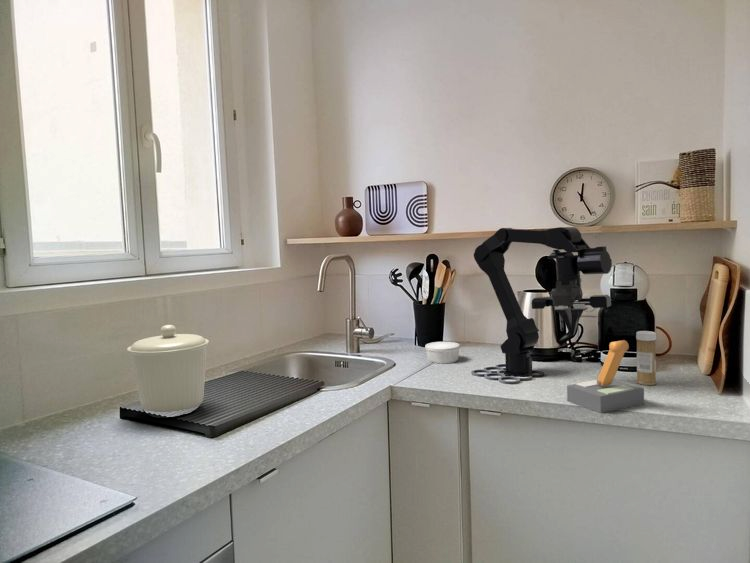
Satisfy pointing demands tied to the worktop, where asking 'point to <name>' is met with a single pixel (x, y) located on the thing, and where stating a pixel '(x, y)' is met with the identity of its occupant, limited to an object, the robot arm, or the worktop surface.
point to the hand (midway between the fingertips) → (572, 335)
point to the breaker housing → (605, 395)
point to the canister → (169, 370)
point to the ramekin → (442, 352)
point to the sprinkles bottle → (646, 357)
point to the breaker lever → (612, 362)
